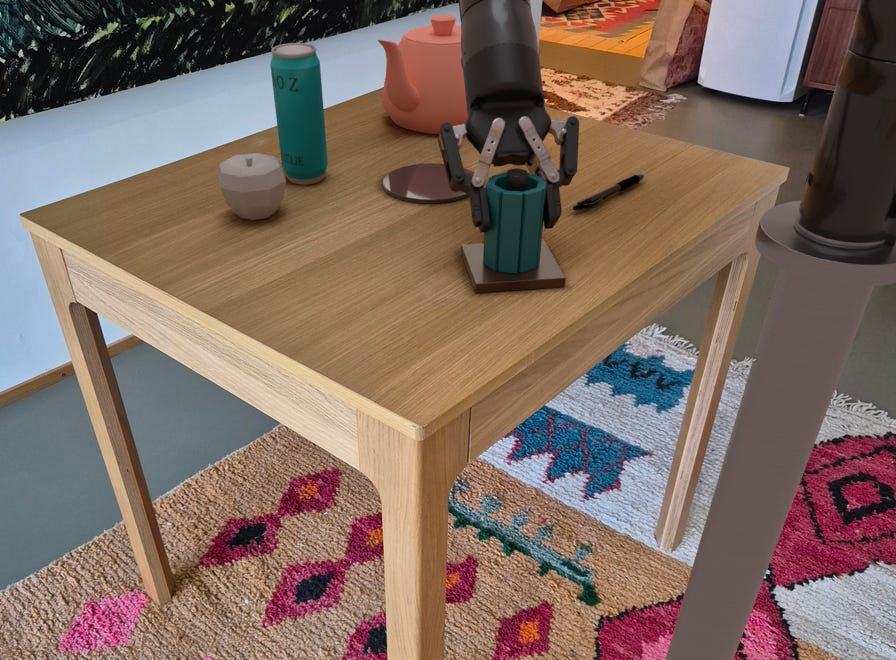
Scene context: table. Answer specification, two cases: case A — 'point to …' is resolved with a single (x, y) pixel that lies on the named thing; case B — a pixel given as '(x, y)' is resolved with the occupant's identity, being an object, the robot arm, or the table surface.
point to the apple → (252, 185)
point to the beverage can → (299, 112)
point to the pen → (607, 192)
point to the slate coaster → (422, 184)
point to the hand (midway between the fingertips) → (518, 227)
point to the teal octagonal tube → (514, 225)
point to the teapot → (426, 77)
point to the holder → (494, 281)
